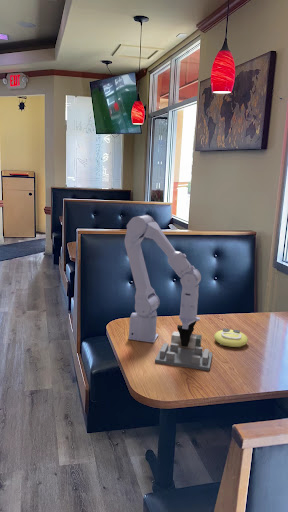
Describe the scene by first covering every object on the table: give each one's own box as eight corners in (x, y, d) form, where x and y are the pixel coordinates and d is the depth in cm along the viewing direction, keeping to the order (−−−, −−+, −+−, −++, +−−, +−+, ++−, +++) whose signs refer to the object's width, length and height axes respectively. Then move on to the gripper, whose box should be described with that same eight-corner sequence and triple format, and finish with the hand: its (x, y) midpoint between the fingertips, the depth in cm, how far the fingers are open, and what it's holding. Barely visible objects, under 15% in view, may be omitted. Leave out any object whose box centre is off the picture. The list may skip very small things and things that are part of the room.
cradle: (154, 362, 132) (155, 353, 132) (162, 348, 144) (162, 339, 143) (209, 370, 129) (209, 361, 128) (212, 355, 140) (212, 346, 139)
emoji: (249, 342, 145) (247, 328, 156) (213, 338, 147) (215, 324, 158) (247, 352, 146) (246, 337, 157) (212, 348, 148) (214, 334, 159)
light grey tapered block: (170, 346, 146) (171, 335, 145) (172, 341, 150) (173, 331, 149) (199, 350, 144) (200, 339, 143) (200, 345, 148) (201, 335, 147)
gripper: (198, 312, 136) (195, 351, 139) (202, 300, 150) (199, 336, 153) (176, 309, 138) (174, 348, 140) (183, 297, 152) (180, 333, 154)
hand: (186, 342), depth 147 cm, fingers open, 7 cm apart
